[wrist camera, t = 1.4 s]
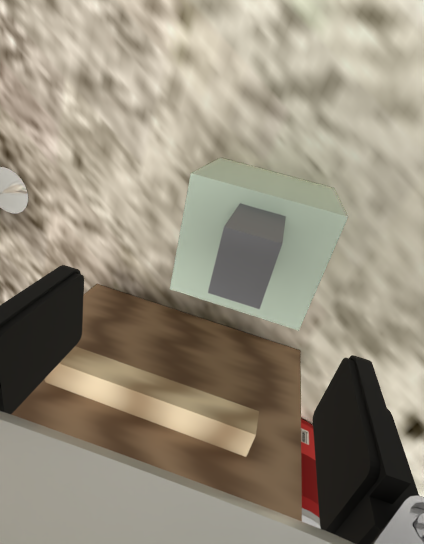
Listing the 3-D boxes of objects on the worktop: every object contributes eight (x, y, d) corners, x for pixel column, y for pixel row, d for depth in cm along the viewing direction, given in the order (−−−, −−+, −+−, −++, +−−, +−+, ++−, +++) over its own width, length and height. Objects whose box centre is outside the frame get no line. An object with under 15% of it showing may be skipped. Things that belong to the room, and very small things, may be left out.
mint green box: (333, 187, 27) (362, 245, 15) (298, 276, 31) (298, 379, 19) (220, 157, 28) (161, 188, 16) (201, 247, 33) (141, 326, 20)
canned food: (245, 421, 41) (229, 514, 32) (304, 406, 38) (305, 504, 28) (275, 461, 43) (268, 560, 34) (333, 450, 40) (344, 556, 30)
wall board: (308, 332, 34) (319, 566, 16) (277, 400, 39) (260, 637, 21) (97, 265, 36) (-89, 403, 19) (93, 336, 41) (-58, 499, 24)
